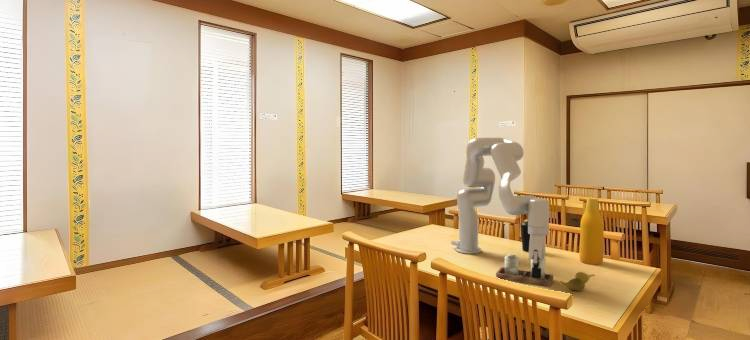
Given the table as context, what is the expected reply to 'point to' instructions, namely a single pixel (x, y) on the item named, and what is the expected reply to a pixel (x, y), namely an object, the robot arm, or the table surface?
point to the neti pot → (577, 281)
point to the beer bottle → (591, 234)
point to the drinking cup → (525, 235)
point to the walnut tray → (520, 273)
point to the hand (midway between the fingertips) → (537, 275)
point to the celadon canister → (541, 269)
